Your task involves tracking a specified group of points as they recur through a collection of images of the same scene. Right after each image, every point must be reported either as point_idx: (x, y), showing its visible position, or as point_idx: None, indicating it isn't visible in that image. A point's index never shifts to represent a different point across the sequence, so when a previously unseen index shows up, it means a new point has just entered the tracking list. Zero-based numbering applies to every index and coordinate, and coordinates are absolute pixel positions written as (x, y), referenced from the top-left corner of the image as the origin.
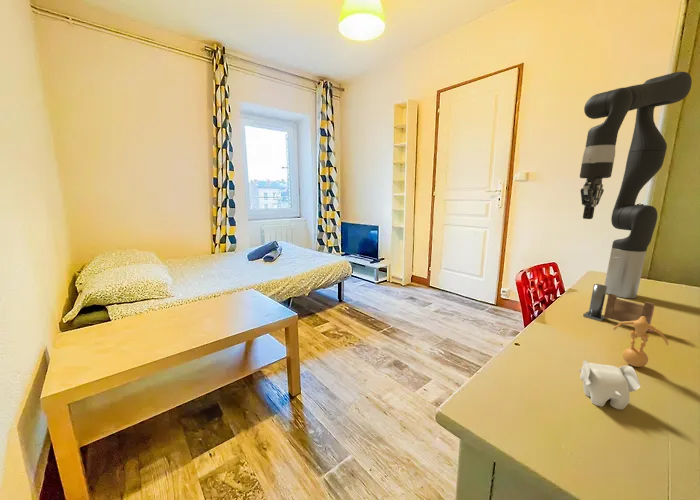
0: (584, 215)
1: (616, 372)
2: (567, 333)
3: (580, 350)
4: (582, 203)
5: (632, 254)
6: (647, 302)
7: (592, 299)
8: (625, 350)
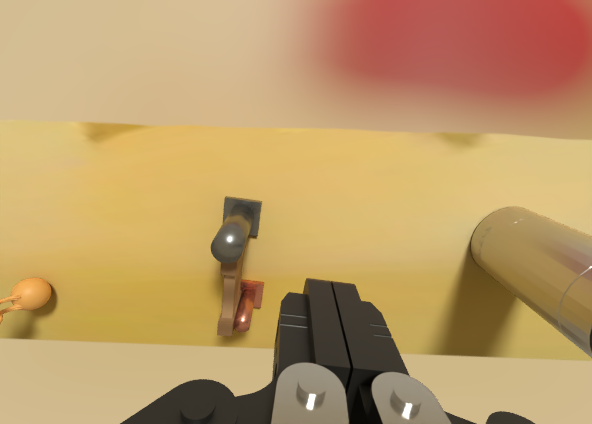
0: (281, 305)
1: None
2: (80, 188)
3: (19, 220)
4: (161, 403)
5: (576, 332)
6: (225, 326)
7: (224, 222)
8: (19, 286)
